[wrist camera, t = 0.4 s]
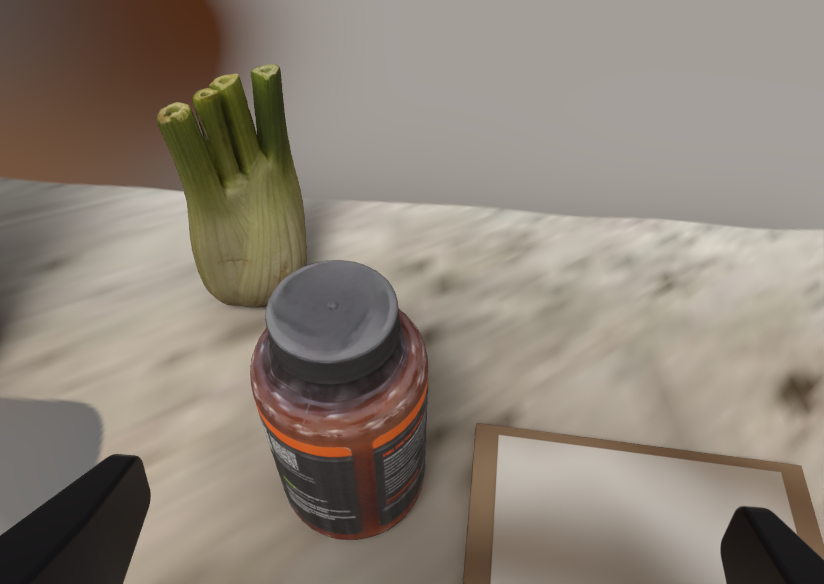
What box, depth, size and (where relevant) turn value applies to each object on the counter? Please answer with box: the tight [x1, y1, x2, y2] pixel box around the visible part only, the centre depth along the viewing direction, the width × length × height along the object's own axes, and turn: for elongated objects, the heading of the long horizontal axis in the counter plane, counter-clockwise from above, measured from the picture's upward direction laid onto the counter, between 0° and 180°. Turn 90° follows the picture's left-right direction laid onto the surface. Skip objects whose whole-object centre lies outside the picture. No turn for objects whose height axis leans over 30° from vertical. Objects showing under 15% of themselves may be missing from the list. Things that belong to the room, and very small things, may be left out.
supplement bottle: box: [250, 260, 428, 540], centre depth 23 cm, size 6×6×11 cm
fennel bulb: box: [156, 64, 307, 307], centre depth 30 cm, size 6×5×12 cm
